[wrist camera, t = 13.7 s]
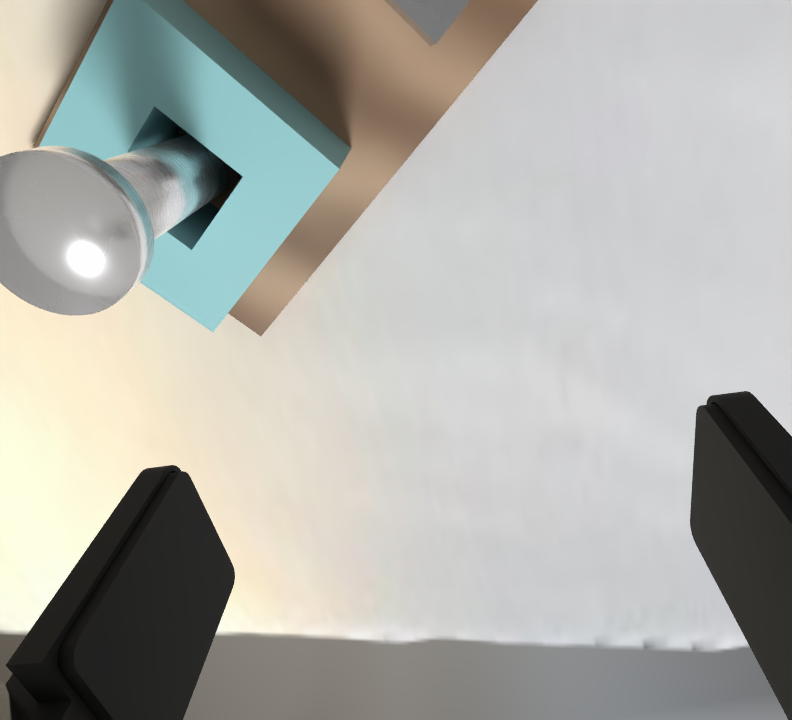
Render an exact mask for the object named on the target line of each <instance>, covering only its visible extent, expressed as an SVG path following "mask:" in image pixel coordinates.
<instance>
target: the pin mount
mask: <svg viewBox="0 0 792 720" xmlns="http://www.w3.org/2000/svg"><path fill="white" fill-rule="evenodd" d="M385 1H386V2H387V3H388V4H389V5H390V6H391V7H392V8H393V9H394V10H395V11H396V12H397V13H398V14H399V15H400V16H401V17H402V18H403V19H404V20H405V21H406V22H407V23H408V24H409V25H410V26H411V27H412V28H413V29H414V30H415V31H416V32H417V33H418V34H419V35H420V36H421V37H422V38H423V39H424V41H425V42H426V43H427V44H428V45H429V46H432V45H435V44H437V42H438V41H439V40H440V39H441V37H442V36H443V35H444V33H445V32H446V31H447V30H448V28H449V27H450V26H451V24H452V23H453V22H454V21H455V19H456V18H457V17H458V15H459V14H460V13H461V11H462V10H463V9H464V8H465V6H466V5H467V4H468V2H469V1H470V0H385Z"/></svg>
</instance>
